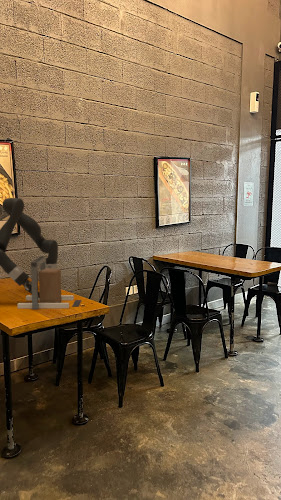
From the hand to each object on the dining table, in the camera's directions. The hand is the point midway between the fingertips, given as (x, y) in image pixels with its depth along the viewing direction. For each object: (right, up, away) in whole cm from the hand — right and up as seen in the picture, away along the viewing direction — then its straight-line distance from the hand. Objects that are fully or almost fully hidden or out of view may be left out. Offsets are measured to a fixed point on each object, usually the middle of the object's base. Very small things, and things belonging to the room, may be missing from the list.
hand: (40, 296), depth 223 cm
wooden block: (+6, -4, 0) cm, 7 cm away
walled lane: (+3, -4, +1) cm, 5 cm away
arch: (-1, -4, +1) cm, 4 cm away
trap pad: (+21, -4, +1) cm, 21 cm away
